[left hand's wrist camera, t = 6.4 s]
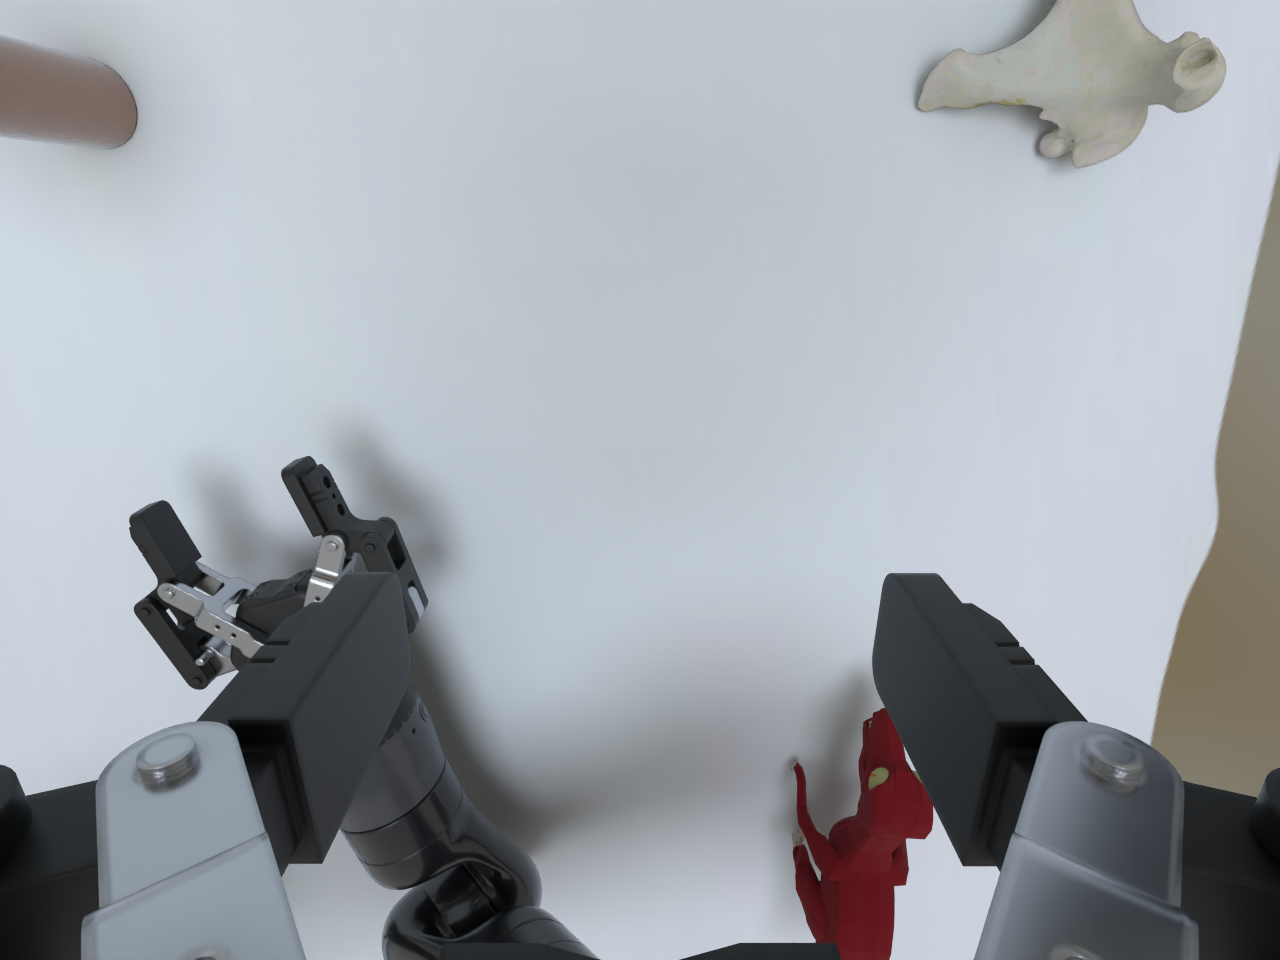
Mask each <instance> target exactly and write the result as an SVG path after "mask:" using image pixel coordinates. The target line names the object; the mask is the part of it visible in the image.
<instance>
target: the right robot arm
mask: <svg viewBox="0 0 1280 960" xmlns="http://www.w3.org/2000/svg"><path fill="white" fill-rule="evenodd" d="M281 476H282V480H283V482H284V483H285V485H286V487H287V489H288V491H289V493H290V495H291V497H292V498H293V500H294V502H295V504H296V506H297V508H298V510H299V511H300V513H301V515H302V517H303V519H304V521H305V523H306V524H307V526H308V528H309V530H310V532H311V534H312V536H313V537H315V536H319V535H321V536H322V538H323V539H322V540H321V544H320V548H319V553H318V558H317V562H316V567H315V570H314V572H312V570H311V569H309V570H305V571H302V572H299V573H297V574H295V575H294V576H292V577H291V578H289V579H285V580H271V581H267V582H264V583H261V584H260V585H259V586H258V587H257V586H255V585H253V584H251V583H249V582H248V581H246V580H244V579H242V578H238V577H234V578H228V577H225V576H224V575H222V574H220V573H218V572H216V571H214V570H212V569H211V568H209V567H207V566H205V565H203V564H201V563H199V562H196V561H197V560H198V559H199V558H201V557H202V556H201V554H200V553H199V551H198V550H197V548H196V546H195V545H194V543H193V541H192V540H191V538H190V536H189V535H188V533H187V531H186V530H185V528H184V527H183V525H182V523H181V522H180V520H179V518H178V517H177V515H176V513H175V512H174V510H173V509H172V507H171V505H170V504H169V503H168V502H166V501H164V500H162V501H158V502H155V503H152V504H149V505H147V506H145V507H144V508H142V509H140V510H139V511H137V512H135V513H134V514H132V515H131V516H130V519H129V522H130V525H131V527H130V528H129V529H130V534H131V538H132V539H133V541H134V542H135V544H136V545H137V546H138V548H139V550H140V552H141V553H143V554H142V555H143V556H144V558H145V559H146V561H147V562H148V564H149V566H150V567H151V569H152V570H153V572H154V573H155V575H156V577H157V579H158V585H157V587H156V589H155V590H153V591H152V592H151V593H150V594H149V595H147V596H146V597H145V598H144V599H142V600H141V601H139V602H138V603H137V604H136V605H135V606H134V612H135V614H136V616H137V617H138V618H139V620H140V621H141V622H142V624H143V625H144V626H145V628H146V629H147V630H148V632H149V633H150V634H151V636H152V637H153V638H154V640H155V641H156V642H157V644H158V645H159V646H160V648H161V649H162V650H163V652H164V653H165V654H166V656H167V657H168V658H169V659H170V661H171V662H172V663H173V665H174V666H175V667H176V669H177V670H178V671H179V673H180V674H181V675H182V677H183V678H184V679H185V681H186V682H187V683H188V685H189V686H191V687H192V688H194V689H198V690H201V689H204V688H206V687H207V686H208V685H209V684H210V683H211V681H212V680H214V679H215V678H216V677H217V676H220V675H223V674H226V673H229V672H231V671H234V670H238V671H240V670H241V669H242V668H243V667H244V665H245V664H246V663H250V659H251V657H252V656H253V655H254V654H255V653H256V652H257V650H258V649H259V648H260V647H261V646H262V645H265V644H266V640H267V639H268V638H269V637H270V635H271V634H272V633H273V632H274V631H275V630H276V628H277V627H278V626H279V625H280V624H281V623H282V621H283V620H285V619H286V618H288V617H289V616H291V615H293V614H294V613H296V612H297V611H299V610H300V609H302V608H304V607H305V606H307V605H308V604H310V603H312V602H323V600H324V599H325V598H326V597H327V595H328V594H329V593H330V592H331V590H332V589H333V588H334V587H335V585H336V584H337V583H338V582H339V580H340V579H341V578H342V577H343V576H344V575H345V574H346V573H348V572H354V570H355V566H356V562H357V558H358V555H357V554H356V552H357V553H361V555H362V557H363V560H364V562H365V564H366V566H367V569H368V571H369V572H394V573H396V574H397V576H398V577H399V580H400V583H401V588H402V595H403V602H404V609H405V615H406V622H407V629H408V634H409V633H411V632H412V631H413V630H414V629H415V627H416V625H417V623H418V621H419V619H420V617H421V616H422V614H423V612H424V610H425V608H426V606H427V604H428V600H427V597H426V594H425V592H424V590H423V587H422V585H421V582H420V580H419V577H418V575H417V573H416V570H415V568H414V565H413V563H412V560H411V558H410V556H409V553H408V551H407V548H406V546H405V543H404V541H403V539H402V536H401V534H400V531H399V529H398V526H397V524H396V522H395V521H394V520H392V519H391V518H388V517H382V518H379V519H378V520H377V521H372V520H361V519H358V518H356V517H355V516H353V515H352V514H351V512H350V511H349V509H348V507H347V505H346V503H345V501H344V499H343V497H342V495H341V493H340V491H339V489H338V487H337V485H336V483H335V482H334V479H333V477H332V475H331V473H330V471H329V470H328V469H327V468H326V467H325V466H323V465H322V464H319V465H317V464H316V462H315V460H314V459H313V458H312V457H310V456H306V457H303V458H300V459H297V460H294V461H293V462H292V463H290V464H289V465H288V466H286V467H285V468H283V469H282V472H281ZM194 587H197V588H198V589H200V590H202V591H204V592H206V593H208V594H210V595H211V596H206V595H204V594H203V593H201V592H199V591H197V590H195V589H193V588H194ZM232 604H240V605H239V607H238V608H237V612H236V617H235V618H234V617H232V616H230V615H229V614H227V613H225V612H224V611H225V610H226V609H227V608H228V607H229V606H230V605H232ZM168 608H169V609H170V610H171V612H172V613H173V615H174V616H175V617H176V619H177V621H178V624H177V625H176V624H175V623H174V621H173V620H172V619H171V617H170V616H169V614H168V613H167V612H166V610H167V609H168ZM226 642H228V643H230V644H231V645H229V644H227V643H226ZM339 829H340V830H341V832H342V833H343V835H344V837H345V838H346V840H347V841H348V843H349V845H350V846H351V848H352V849H353V851H354V853H355V854H356V856H357V857H358V859H359V860H360V862H361V863H362V865H363V866H364V868H365V869H366V871H367V873H368V874H369V875H370V876H371V878H372V879H373V880H374V881H375V882H376V883H378V884H379V885H381V886H382V887H385V888H387V889H392V890H403V889H408V888H412V887H413V888H412V889H411V890H410V891H409V892H408V893H407V894H405V895H404V896H403V897H402V898H401V899H400V900H399V901H398V902H397V903H396V905H395V906H394V907H393V909H392V910H391V912H390V913H389V915H388V917H387V920H386V922H385V925H384V929H383V934H382V952H383V957H384V960H439V957H440V953H441V949H442V946H443V943H542V944H545V945H549V946H552V947H556V948H560V949H563V950H567V951H571V952H574V953H578V954H581V955H585V956H589V957H592V958H596V959H599V958H598V957H597V956H595V955H594V954H593V953H592V952H591V951H590V950H589V949H588V948H587V947H586V946H585V945H584V944H583V943H582V942H581V941H579V940H578V939H577V938H576V937H575V936H574V935H573V934H572V933H571V932H570V931H569V930H568V929H567V928H566V927H565V926H564V925H563V924H562V923H561V922H559V921H558V920H557V919H556V918H555V917H554V916H553V915H551V914H550V913H548V912H547V911H545V910H543V909H541V908H540V904H541V898H542V885H541V878H540V875H539V872H538V869H537V867H536V866H535V864H534V862H533V861H532V859H531V858H530V857H529V855H528V854H527V853H526V852H525V851H524V850H523V849H522V848H521V847H520V846H519V845H518V844H517V843H516V842H514V841H513V840H512V839H511V838H509V837H508V836H507V835H506V834H504V833H503V832H502V831H501V830H499V829H498V828H497V827H496V826H494V825H493V824H492V823H491V822H490V821H489V820H488V819H487V818H486V817H485V816H484V815H483V814H482V813H481V812H480V811H479V810H478V809H477V808H476V806H475V805H474V804H473V802H472V801H471V800H470V798H469V797H468V795H467V794H466V792H465V790H464V789H463V787H462V785H461V783H460V781H459V779H458V777H457V776H456V774H455V772H454V770H453V768H452V766H451V764H450V762H449V760H448V758H447V757H446V755H445V753H444V751H443V749H442V746H441V744H440V741H439V738H438V735H437V732H436V729H435V726H434V723H433V721H432V719H431V717H430V715H429V713H428V711H427V708H426V706H425V704H424V703H423V701H422V700H421V698H420V696H419V694H418V692H417V690H416V688H415V686H414V684H413V682H412V680H411V679H410V677H409V682H408V686H407V689H406V691H405V694H404V696H403V698H402V700H401V702H400V704H399V706H398V708H397V710H396V712H395V714H394V716H393V718H392V720H391V722H390V724H389V727H388V729H387V731H386V733H385V735H384V737H383V739H382V741H381V743H380V745H379V747H378V749H377V751H376V753H375V755H374V758H373V760H372V762H371V764H370V766H369V768H368V770H367V772H366V774H365V776H364V778H363V780H362V782H361V784H360V786H359V788H358V791H357V793H356V795H355V797H354V799H353V801H352V803H351V805H350V807H349V809H348V811H347V813H346V815H345V817H344V819H343V822H342V824H341V826H340V828H339Z"/></svg>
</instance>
